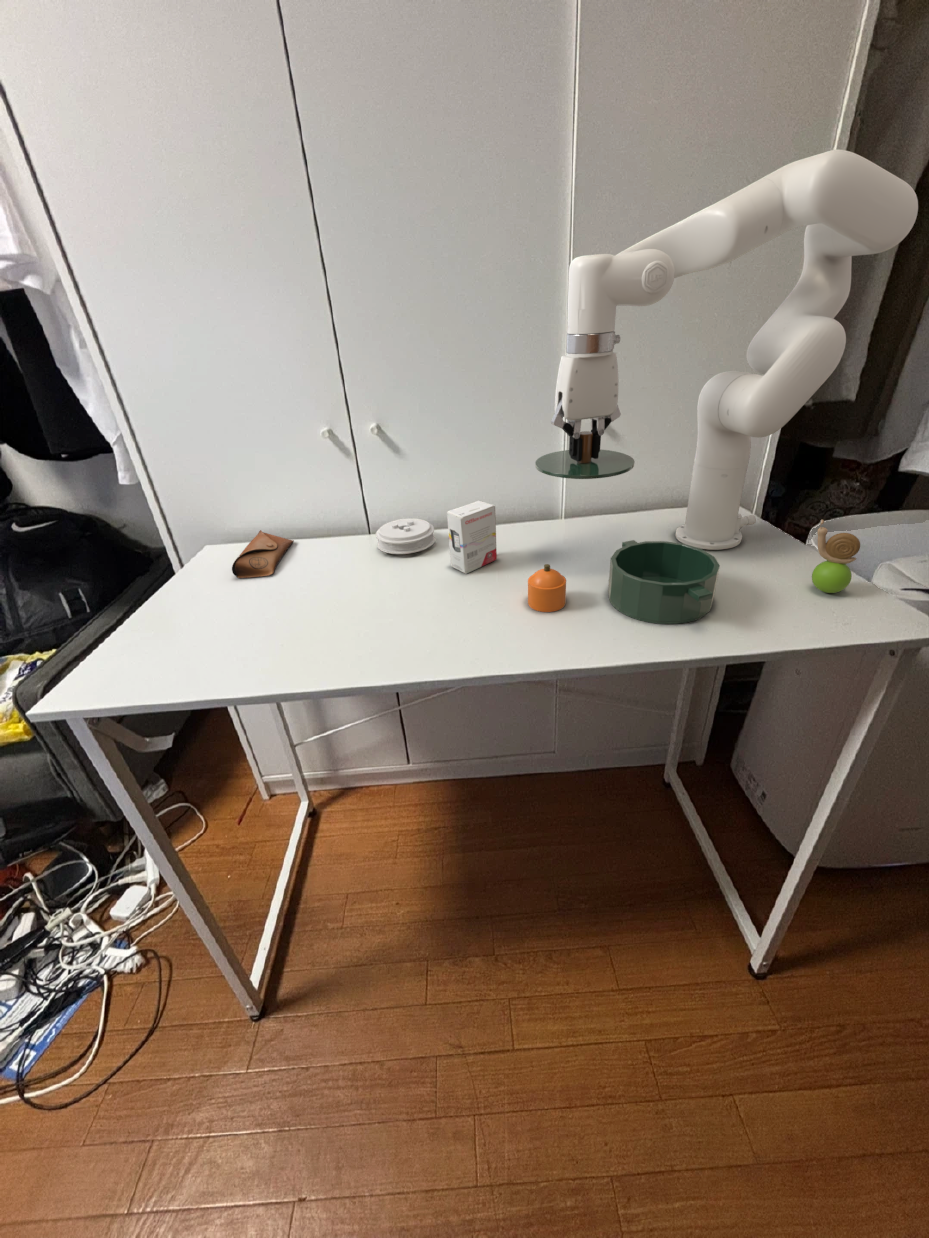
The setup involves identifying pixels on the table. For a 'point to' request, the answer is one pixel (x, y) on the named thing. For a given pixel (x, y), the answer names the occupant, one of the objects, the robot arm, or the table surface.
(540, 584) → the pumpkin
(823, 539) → the snail figurine
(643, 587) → the crock
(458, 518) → the ink box
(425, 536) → the white flat cylinder
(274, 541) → the sunglasses case
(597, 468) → the crock lid
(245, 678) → the table surface
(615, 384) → the robot arm
